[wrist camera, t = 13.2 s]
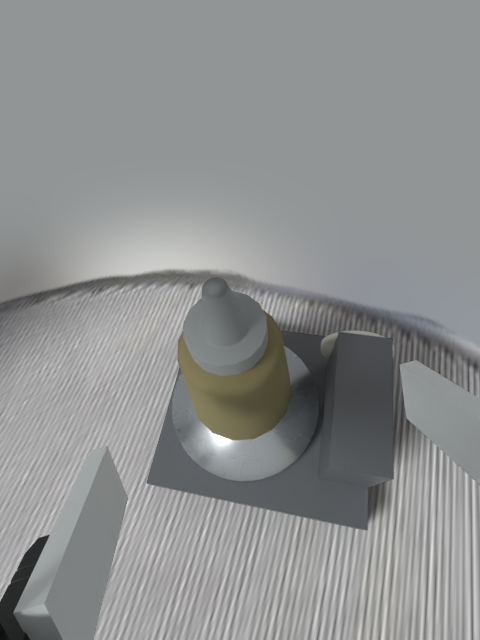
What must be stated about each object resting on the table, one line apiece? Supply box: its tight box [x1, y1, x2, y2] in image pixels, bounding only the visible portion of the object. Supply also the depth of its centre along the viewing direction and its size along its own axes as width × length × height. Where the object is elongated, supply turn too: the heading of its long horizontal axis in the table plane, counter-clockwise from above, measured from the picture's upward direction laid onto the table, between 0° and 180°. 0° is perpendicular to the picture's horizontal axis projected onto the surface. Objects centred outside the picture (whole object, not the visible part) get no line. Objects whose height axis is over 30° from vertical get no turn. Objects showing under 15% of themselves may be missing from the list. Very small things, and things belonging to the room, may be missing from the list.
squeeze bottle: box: [178, 278, 292, 440], centre depth 24 cm, size 8×8×18 cm
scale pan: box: [172, 346, 319, 482], centre depth 32 cm, size 13×13×1 cm
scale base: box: [147, 330, 394, 530], centre depth 31 cm, size 19×16×10 cm
